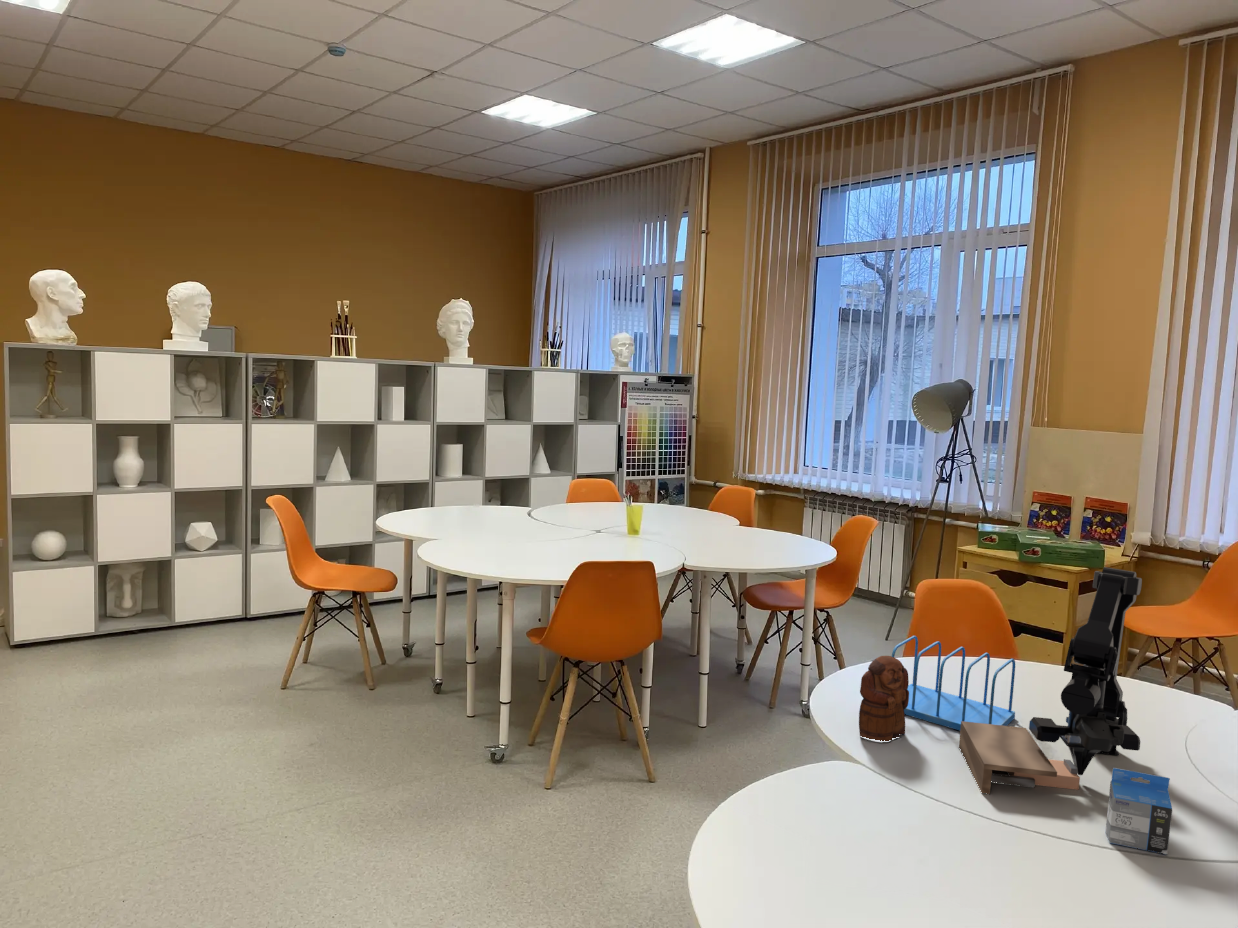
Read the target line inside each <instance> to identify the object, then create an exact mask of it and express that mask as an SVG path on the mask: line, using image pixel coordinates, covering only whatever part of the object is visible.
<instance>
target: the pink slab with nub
mask: <svg viewBox="0 0 1238 928" xmlns="http://www.w3.org/2000/svg"><path fill="white" fill-rule="evenodd" d="M1048 760H1049V761H1050V763H1051V764H1052V765H1053V767H1054V768H1055V770H1056V771H1057V777H1052V776H1043V775H1034V774H1025V773H1017V772H1008V771H1006V773H1007V772H1008V773H1007V775H1012V776H1020V777H1029V778H1034V779H1035V786H1042V787H1050V788H1051V787H1052V788H1058V789H1059V788H1060V789H1068V790H1076V791H1077V790H1078V791H1079V790H1080V789H1079V788H1080V783H1081V782H1080V780H1081V777H1080V775H1078V774H1077V770H1078V769H1077V768H1076V767H1075V765H1074V762H1073V761H1072V760H1071V759H1063V760H1059V759H1051V758H1048Z"/></svg>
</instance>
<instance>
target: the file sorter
mask: <svg viewBox="0 0 1238 928" xmlns="http://www.w3.org/2000/svg"><path fill="white" fill-rule="evenodd" d="M918 639H919V638H918V637H917V636H916V635H912V636H911V637H909V638H907V639H905V640H903V641H901V642H899V643H898V644H896V645H895V646H894V647H893V650H892V652H891V656H892V657H894V658H895V655H896V652H897V650H898V649H899V648H900V647H902V646H903V645H905V644H907V643H909V642H910V641H912V640H914V641H915V644H914V645H915V646H914V661H913V671H912V672H913V675H912V683H910V684H908V689H907V690H908V691H909V702H908V706H907V708H906V709H904V713H905V714H906V715H905V716H908V717H912V716H913V718H916V719H920V720H922V719H923V721H925V722H926V721H927V722H928V723H929V722H930V723H933V724H936V725H939V726H943V727H947V728H950V729H953V730H957V731H960V729H961V721H965V722H974V723H984V724H993V725H1003V726H1009V724H1010V723H1011V722H1012V721H1013V720H1014V719H1015V718H1016V712H1015V711H1014V710H1012V708H1013V699H1014V698H1013V697H1014V689H1015V688H1014V686H1015V678H1016V676H1015V674H1016V660H1015V659H1014V658H1010V659H1009V660H1007V661H1005V662H1004V663H1003V664H1002V665H1000V667H998V668H997V669H996V670H995V672H994V674H993V677H992V681H991V682H992V683H991V692H990V702H989V704H988V703H987V697H988V686H989V675H990V666H991V656H990V653H988V652H985V653H983V654H982V655H980V656H978V657H976V659H974V661H972V662H971V663H969V665H968V667H967V670H966V673H965V663H966V649H965V647H964V646H960V647H958V648H956V649H955V650H953V651H952V652H951V653H949V654H947V655H946V656H945V657H943V658H942V643H941V642H940V641H935V642H933V643H932V644H930V645H928V646H926V647H925V648H923V649H922V650H921V651H918V649H919V640H918ZM937 645H938V655H937V667H936V680H935V689H932V688H929V687H925V686H921V685H918V683H917V682H918V673H919V662H920V658H921V657H922V655H923V654H925V653H926V652H927V651H928V650H930V649H932V648H934V647H935V646H937ZM960 651H961V652H962V656H961V668H960V680H959V681H960V682H959V692H958V695H955V694H951V693H949V692H946V691H945V692H944V691H942V687H943V686H942V684H943V675H944V666H945V663H946V662H947V660H949V659H950V658H951V657H953V656H955V655H956V654H957V653H959V652H960ZM985 657H986V672H985V678H984V679H985V680H984V693H983V702H981V701H977V700H973V699H970V698H968V697H967V696H968V686H969V677H970V672H971V670H972V667H973V666H975V665H976V664H977V663H978V662H980V661H981V660H983V659H984V658H985ZM941 658H942V660H941ZM1009 664H1012V665H1011V666H1012V667H1011V668H1012V669H1011V679H1010V681H1011V682H1010V689H1009V692H1010V693H1009V701H1008V709H1007V708H1005V707H1004V708H1002V707H999V706H997V705H994V699H995V686H996V681H997V676H998V675H999V673H1000V672H1001V671H1002V670H1003V669H1005V668H1006V667H1007V666H1008V665H1009ZM964 673H965V674H966V675H964ZM964 676H965V682H964ZM963 685H964V687H963ZM963 688H964V689H963ZM963 690H964V692H963ZM962 695H963V697H962Z"/></svg>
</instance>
